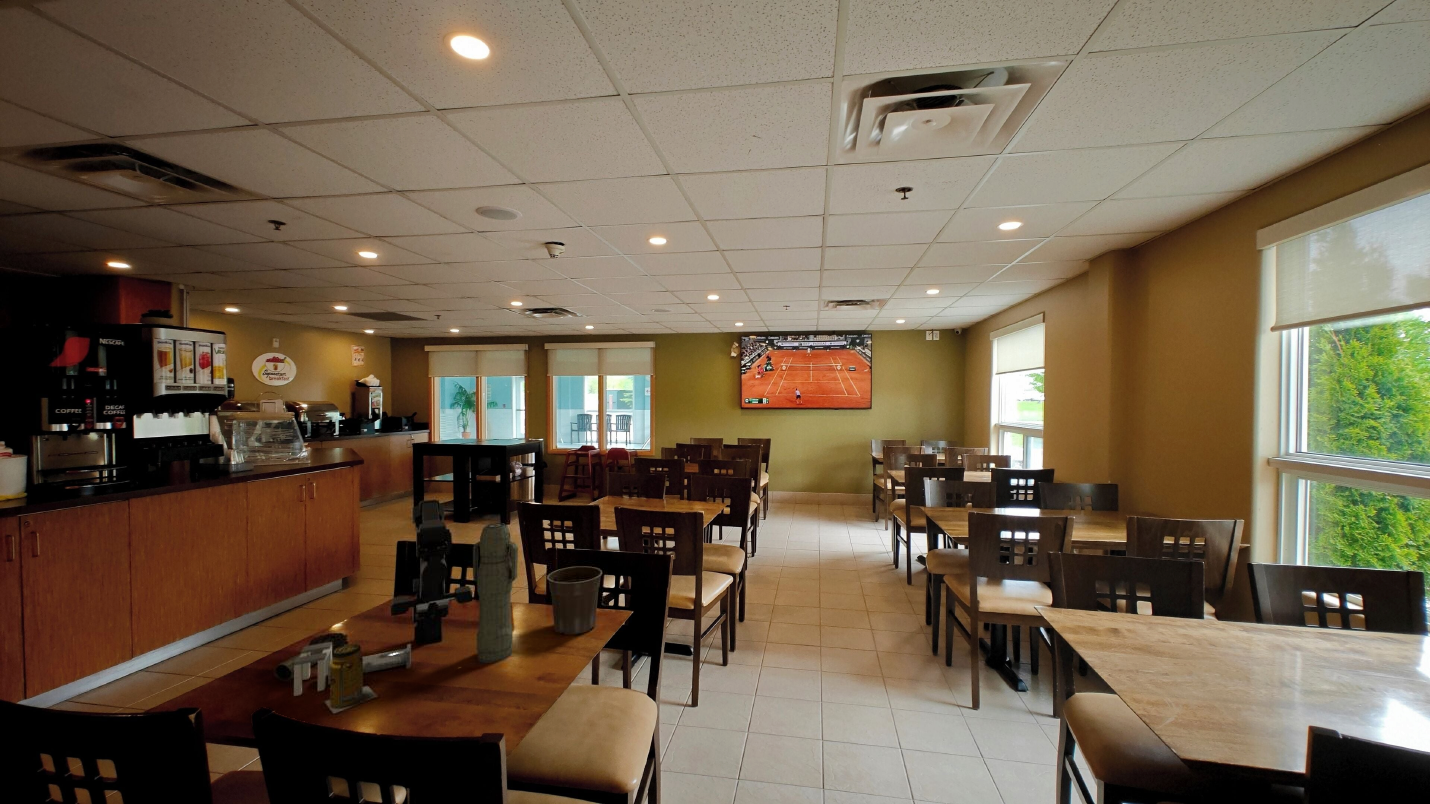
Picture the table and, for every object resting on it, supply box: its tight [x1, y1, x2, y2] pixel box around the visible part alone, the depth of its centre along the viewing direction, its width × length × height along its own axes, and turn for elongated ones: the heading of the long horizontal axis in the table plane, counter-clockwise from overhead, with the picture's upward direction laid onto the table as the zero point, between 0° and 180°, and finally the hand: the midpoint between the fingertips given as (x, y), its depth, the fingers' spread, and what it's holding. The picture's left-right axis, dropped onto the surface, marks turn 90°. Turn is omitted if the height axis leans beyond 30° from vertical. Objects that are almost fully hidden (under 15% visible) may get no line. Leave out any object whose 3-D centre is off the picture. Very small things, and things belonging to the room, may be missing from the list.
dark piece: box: [273, 632, 350, 682], centre depth 134 cm, size 18×7×6 cm, turn 172°
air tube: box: [327, 643, 412, 686], centre depth 130 cm, size 17×4×4 cm, turn 118°
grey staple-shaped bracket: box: [293, 642, 333, 697], centre depth 124 cm, size 6×10×8 cm, turn 28°
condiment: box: [324, 643, 378, 714], centre depth 118 cm, size 7×8×12 cm
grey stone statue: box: [472, 522, 519, 664], centre depth 139 cm, size 9×12×35 cm
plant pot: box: [546, 565, 603, 636], centre depth 157 cm, size 16×16×16 cm
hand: (432, 632), depth 136 cm, fingers closed
